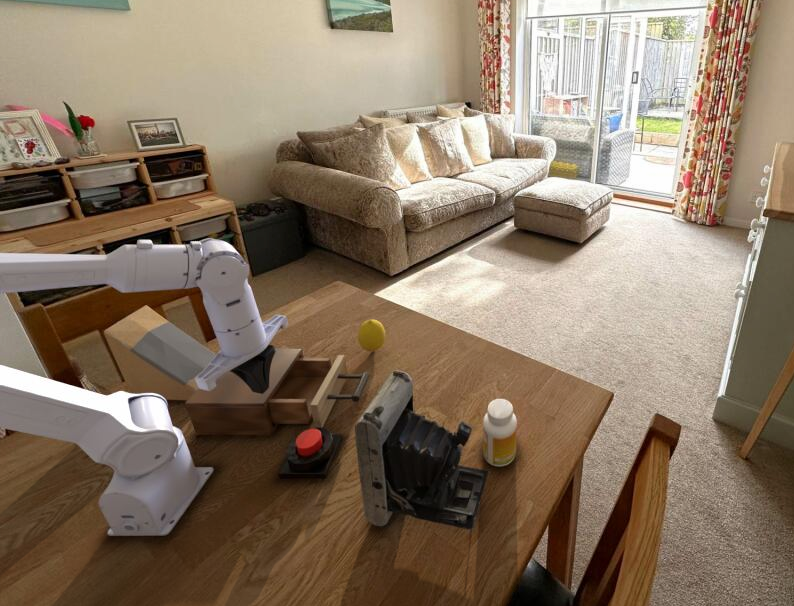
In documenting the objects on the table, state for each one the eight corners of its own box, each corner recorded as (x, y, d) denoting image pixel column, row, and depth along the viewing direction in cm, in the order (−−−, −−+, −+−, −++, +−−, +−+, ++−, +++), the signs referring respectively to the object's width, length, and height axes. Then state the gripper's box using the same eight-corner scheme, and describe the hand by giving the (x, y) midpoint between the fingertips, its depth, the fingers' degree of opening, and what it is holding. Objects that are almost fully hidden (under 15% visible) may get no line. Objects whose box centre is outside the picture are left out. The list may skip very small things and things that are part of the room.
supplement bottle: (522, 448, 67) (524, 404, 63) (503, 474, 63) (504, 428, 59) (495, 433, 70) (496, 389, 66) (476, 456, 66) (476, 411, 62)
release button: (316, 456, 62) (315, 448, 61) (293, 456, 62) (291, 448, 61) (326, 436, 65) (324, 428, 65) (303, 436, 65) (302, 428, 65)
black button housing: (325, 478, 61) (322, 465, 60) (279, 479, 61) (275, 465, 60) (342, 439, 68) (340, 426, 67) (300, 439, 68) (297, 425, 67)
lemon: (355, 356, 87) (350, 325, 84) (370, 340, 92) (366, 310, 89) (377, 361, 86) (373, 330, 83) (391, 345, 91) (388, 315, 88)
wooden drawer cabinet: (308, 377, 81) (302, 348, 78) (271, 435, 68) (263, 403, 66) (244, 376, 81) (236, 348, 78) (196, 435, 68) (184, 403, 65)
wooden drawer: (376, 376, 80) (374, 355, 78) (355, 428, 69) (351, 405, 67) (289, 375, 80) (284, 354, 78) (253, 428, 68) (246, 404, 66)
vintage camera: (469, 555, 53) (475, 444, 46) (362, 525, 55) (350, 415, 48) (488, 486, 62) (495, 384, 55) (394, 463, 64) (389, 362, 57)
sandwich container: (210, 402, 74) (188, 335, 69) (129, 398, 75) (101, 331, 69) (241, 369, 82) (223, 307, 77) (168, 366, 83) (145, 303, 77)
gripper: (254, 289, 66) (274, 354, 71) (165, 348, 53) (198, 422, 59) (290, 295, 64) (308, 360, 70) (207, 357, 51) (238, 432, 57)
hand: (260, 389), depth 64 cm, fingers closed
